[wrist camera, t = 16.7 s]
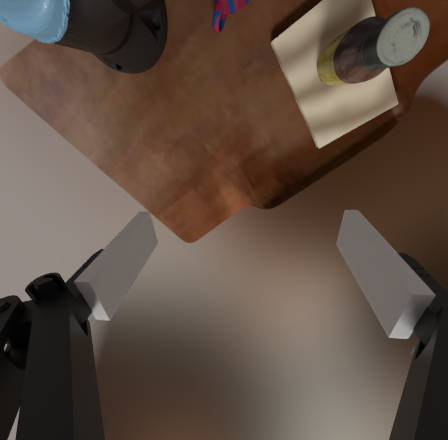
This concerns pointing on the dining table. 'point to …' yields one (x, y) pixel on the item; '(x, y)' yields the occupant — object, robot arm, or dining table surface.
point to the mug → (225, 11)
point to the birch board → (318, 90)
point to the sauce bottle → (373, 47)
